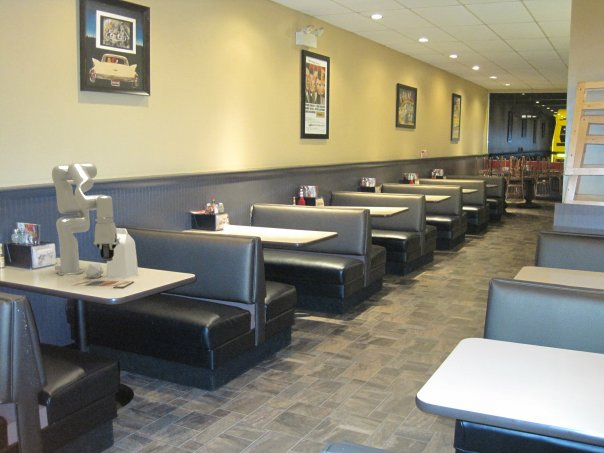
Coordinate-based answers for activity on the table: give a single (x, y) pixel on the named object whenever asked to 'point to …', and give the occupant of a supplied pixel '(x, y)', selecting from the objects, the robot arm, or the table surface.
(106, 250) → the pawn
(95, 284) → the game board
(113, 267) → the milk
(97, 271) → the white faceted ball
